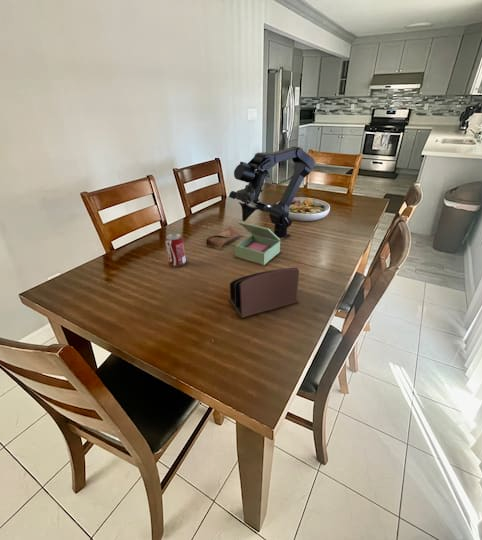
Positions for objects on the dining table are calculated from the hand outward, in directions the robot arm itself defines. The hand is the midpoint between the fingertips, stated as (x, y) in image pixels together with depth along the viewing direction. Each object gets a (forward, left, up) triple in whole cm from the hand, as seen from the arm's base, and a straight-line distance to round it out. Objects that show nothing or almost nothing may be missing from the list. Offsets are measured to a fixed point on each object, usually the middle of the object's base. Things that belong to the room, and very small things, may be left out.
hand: (243, 221), depth 125 cm
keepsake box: (+2, +9, -13) cm, 16 cm away
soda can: (+28, -13, -13) cm, 33 cm away
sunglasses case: (0, -12, -13) cm, 17 cm away
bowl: (-54, -1, -13) cm, 56 cm away
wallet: (+1, +9, -12) cm, 15 cm away
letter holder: (+28, +30, -13) cm, 43 cm away
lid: (+1, +9, -2) cm, 10 cm away
